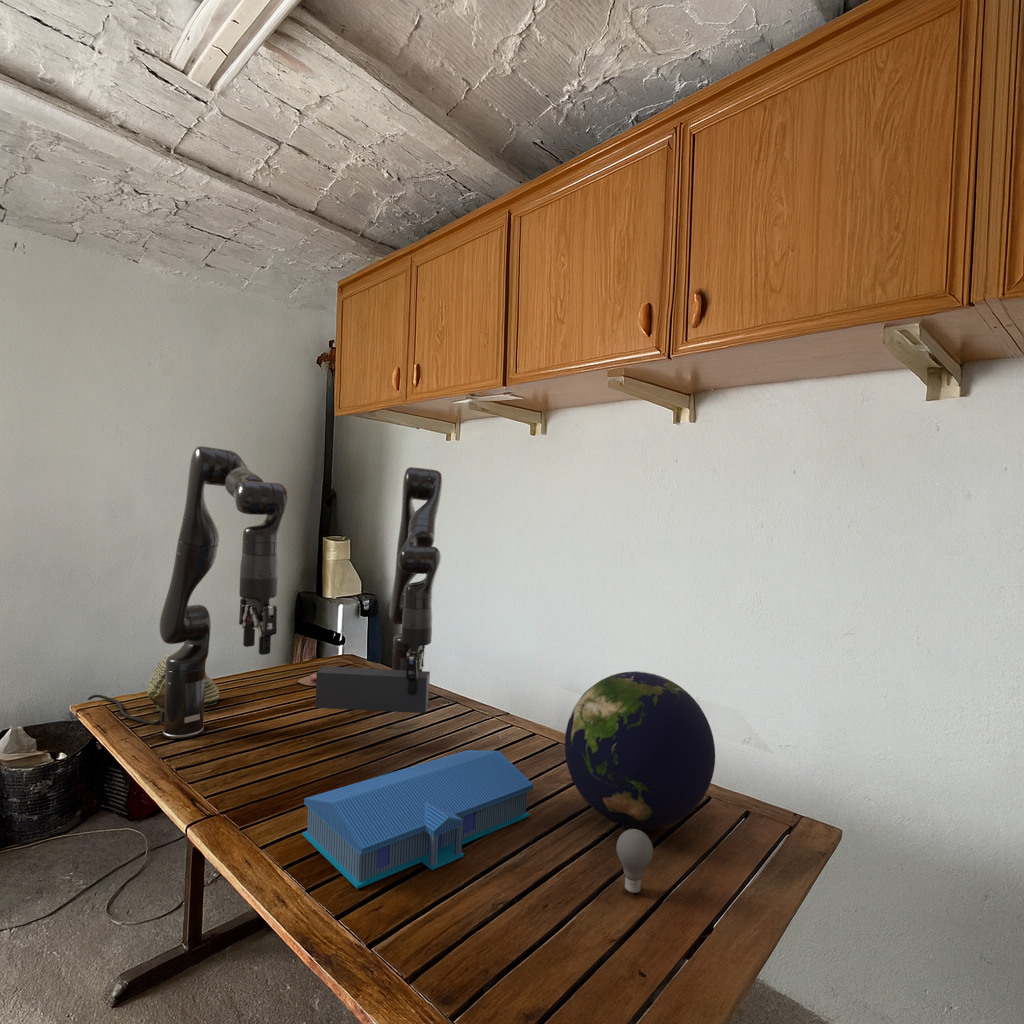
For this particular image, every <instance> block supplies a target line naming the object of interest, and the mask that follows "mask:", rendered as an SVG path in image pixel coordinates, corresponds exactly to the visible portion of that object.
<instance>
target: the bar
mask: <svg viewBox="0 0 1024 1024" xmlns="http://www.w3.org/2000/svg"><path fill="white" fill-rule="evenodd" d="M316 673H317V677H316V686H315V701H314V703H315V705H314V708H315V709H329V710H330V709H331V710H333V709H334V710H350V711H351V710H353V711H373V712H388V713H389V712H390V713H391V712H392V713H408V714H409V713H410V714H411V713H412V714H426V712H427V710H428V709H429V708H428V707H429V703H430V702H429V699H430V680H431V679H430V677H431V671H425V670H424V671H419V672H418V680H417V693H416V695H409V694H408V680H407V679H406V670H392V669H389V668H388V669H387V668H386V669H384V668H367V667H366V668H365V667H364V668H363V667H347V666H343V667H342V666H326V665H324V666H322V667H321V668H320V669H318V671H316ZM410 674H413V675H414V671H411V673H410Z"/></svg>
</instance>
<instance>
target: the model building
mask: <svg viewBox="0 0 1024 1024" xmlns="http://www.w3.org/2000/svg"><path fill="white" fill-rule="evenodd" d="M532 790H534V783H532V782H531V781H530V780H529V779H528V778H527V776H525V775H524V774H523V773H522V772H521V771H520V770H519V769H518V768H517V767H516V766H515V765H514V764H513V763H512V762H511V761H510V760H509V758H507V757H506V756H505V755H504V754H503V753H502V752H501V751H500V750H484V749H483V750H481V749H479V750H477V749H474V750H473V749H470V750H469V749H467V750H463V751H460V752H456V753H452V754H450V755H446V756H443V757H439V758H436V759H433V760H429V761H427V762H423V763H420V764H416V765H413V766H410V767H406V768H402V769H399V770H396V771H392V772H389V773H386V774H382V775H379V776H376V777H372V778H369V779H365V780H362V781H359V782H355V783H352V784H348V785H346V786H342V787H338V788H336V789H332V790H328V791H325V792H321V793H318V794H315V795H312V796H308V797H304V798H303V805H304V806H305V807H307V830H305V831H302V836H303V837H304V838H305V839H306V840H307V841H308V842H309V843H310V844H311V845H312V846H313V847H314V848H315V849H316V850H317V851H318V852H319V853H320V854H321V855H322V856H323V857H324V858H325V859H326V860H327V861H328V862H329V863H330V864H331V865H332V866H333V867H334V868H335V869H336V870H337V871H338V872H339V873H340V874H341V875H343V877H345V879H346V880H347V881H348V882H350V883H351V885H352V886H354V887H355V888H356V890H359V889H361V888H364V887H365V886H368V885H371V884H373V883H376V882H378V881H380V880H381V879H385V878H387V877H390V876H391V875H394V874H396V873H400V872H401V871H403V870H406V869H408V868H411V867H413V866H415V865H418V864H420V863H422V865H424V866H426V867H427V868H428V869H429V870H431V871H434V870H436V869H438V868H440V867H443V866H445V865H447V864H450V863H452V862H455V861H456V860H459V859H461V858H463V857H465V853H464V852H463V845H465V844H468V843H471V842H472V841H475V840H477V839H480V838H481V837H484V836H486V835H489V834H492V833H493V832H496V831H498V830H501V829H503V828H505V827H508V826H510V825H513V824H515V823H517V822H520V821H522V820H525V819H527V818H529V817H530V816H531V814H530V813H529V812H528V811H527V801H528V798H527V797H528V792H530V791H532Z"/></svg>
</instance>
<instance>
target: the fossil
mask: <svg viewBox="0 0 1024 1024" xmlns="http://www.w3.org/2000/svg"><path fill="white" fill-rule="evenodd" d="M170 655H171V654H165V655H164V656H163V657H162V658H161V659H160V660H159V662H158V663H157V666H156V667H155V669H154V670H153V672H152V675H151V677H150V680H149V684H148V688H147V697H148V699H149V700H150V701H152V703H153V704H154V706H155V711H158V712H160V709H164V705H165V674H166V660H167V658H168V657H169V656H170ZM220 698H221V696H220V690H219V688H218V686H217V685H216V683H215V682H214V681H213V679H212V678H211V677H209V675H208V674H207V672H206V671H205V693H204V707H207V706H213V705H215V704H217V703H218V701H219V699H220Z"/></svg>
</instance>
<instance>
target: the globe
mask: <svg viewBox="0 0 1024 1024" xmlns="http://www.w3.org/2000/svg"><path fill="white" fill-rule="evenodd" d="M564 735H565V736H564V754H565V761H566V766H567V769H568V773H569V775H570V777H571V780H572V783H573V785H574V786H575V788H576V790H577V791H578V793H579V794H580V796H581V797H582V798H583V799H584V801H585V802H586V803H587V804H588V805H589V806H590V807H591V809H593V810H594V811H596V812H597V813H598V814H600V815H601V816H603V817H604V818H605V819H607V820H608V821H611V822H613V823H615V824H617V825H621V826H623V827H627V828H629V829H637V830H653V829H659V828H664V827H667V826H670V825H672V824H674V823H676V822H677V823H678V822H679V821H681V820H682V819H684V818H685V817H687V816H688V815H689V814H690V813H692V812H693V811H694V810H695V809H696V808H697V807H698V805H700V803H701V801H702V800H703V799H704V797H705V795H706V794H707V792H708V790H709V788H710V785H711V782H712V779H713V777H714V771H715V767H716V749H715V748H716V745H715V739H714V735H713V731H712V728H711V726H710V723H709V720H708V719H707V717H706V715H705V713H704V711H703V709H702V708H701V706H700V704H699V703H698V702H697V700H696V699H695V698H694V697H693V696H692V695H691V694H690V693H689V692H688V691H687V690H685V689H684V688H683V687H681V686H680V685H678V684H677V683H675V682H674V681H672V680H671V679H669V678H666V677H664V676H661V675H659V674H656V673H652V672H647V671H640V670H636V671H623V672H617V673H615V674H612V675H609V676H606V677H604V678H602V679H601V680H599V681H597V682H596V683H594V684H593V685H592V686H591V687H589V688H588V689H587V690H585V692H584V693H583V694H582V695H581V697H580V698H579V699H578V701H577V702H576V703H575V706H574V707H573V708H572V711H571V713H570V715H569V719H568V721H567V724H566V729H565V734H564Z"/></svg>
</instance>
